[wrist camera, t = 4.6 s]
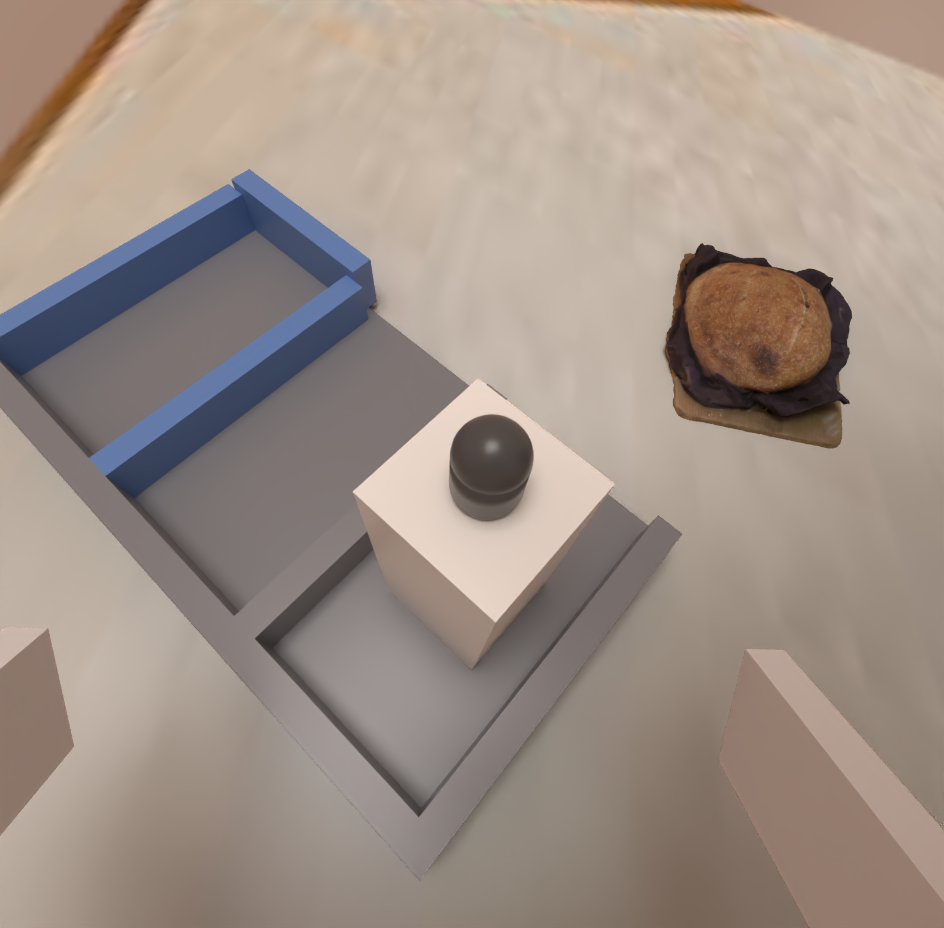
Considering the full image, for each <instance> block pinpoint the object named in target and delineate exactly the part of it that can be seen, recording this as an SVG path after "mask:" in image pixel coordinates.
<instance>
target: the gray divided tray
mask: <svg viewBox="0 0 944 928" xmlns="http://www.w3.org/2000/svg"><path fill="white" fill-rule="evenodd" d="M231 180H232V183H233V185H234V188H235V189H234V188H233V187H232V186H230V185H229V184H227V185H225V186H224V187H222V188H220V189H219V190H217V191H215V192H213V193H212V194H210V195H208V196H206V197H205V198H203V199H201V200H199V201H198V202H196V203H194V204H192V205H191V206H189V207H187V208H185V209H184V210H182V211H180V212H178V213H177V214H175V215H173V216H171V217H170V218H168V219H166V220H164V221H163V222H161V223H159V224H158V225H156V226H154V227H152V228H151V229H149V230H147V231H145V232H144V233H142V234H140V235H138V236H137V237H135V238H133V239H131V240H130V241H128V242H126V243H124V244H123V245H121V246H119V247H117V248H116V249H114V250H112V251H110V252H109V253H107V254H105V255H103V256H102V257H100V258H98V259H97V260H95V261H93V262H91V263H90V264H88V265H86V266H84V267H83V268H81V269H79V270H77V271H76V272H74V273H72V274H70V275H69V276H67V277H65V278H63V279H62V280H60V281H58V282H56V283H55V284H53V285H51V286H49V287H48V288H46V289H44V290H42V291H41V292H39V293H37V294H35V295H34V296H32V297H30V298H29V299H27V300H25V301H23V302H22V303H20V304H18V305H16V306H15V307H13V308H11V309H9V310H8V311H6V312H4V313H2V314H1V315H0V408H1V409H2V410H3V411H4V412H5V413H6V415H7V416H8V417H9V418H10V419H11V420H12V421H13V422H14V424H15V425H16V426H17V427H18V428H19V429H20V430H21V431H22V433H23V434H24V435H25V436H26V437H27V438H28V439H29V440H30V442H31V443H32V444H33V445H34V446H35V447H36V448H37V450H38V451H39V452H40V453H41V454H42V455H43V456H44V457H45V459H46V460H47V461H48V462H49V463H50V464H51V465H52V466H53V468H54V469H55V470H56V471H57V472H58V473H59V474H60V475H61V477H62V478H63V479H64V480H65V481H66V482H67V483H68V485H69V486H70V487H71V488H72V489H73V490H74V491H75V492H76V494H77V495H78V496H79V497H80V498H81V499H82V500H83V501H84V503H85V504H86V505H87V506H88V507H89V508H90V509H91V510H92V512H93V513H94V514H95V515H96V516H97V517H98V518H99V520H100V521H101V522H102V523H103V524H104V525H105V526H106V527H107V529H108V530H109V531H110V532H111V533H112V534H113V535H114V536H115V538H116V539H117V540H118V541H119V542H120V543H121V544H122V546H123V547H124V548H125V549H126V550H127V551H128V552H129V553H130V555H131V556H132V557H133V558H134V559H135V560H136V561H137V562H138V564H139V565H140V566H141V567H142V568H143V569H144V570H145V571H146V573H147V574H148V575H149V576H150V577H151V578H152V579H153V581H154V582H155V583H156V584H157V585H158V586H159V587H160V588H161V590H162V591H163V592H164V593H165V594H166V595H167V596H168V597H169V599H170V600H171V601H172V602H173V603H174V604H175V605H176V606H177V608H178V609H179V610H180V611H181V612H182V613H183V614H184V616H185V617H186V618H187V619H188V620H189V621H190V622H191V623H192V625H193V626H194V627H195V628H196V629H197V630H198V631H199V632H200V634H201V635H202V636H203V637H204V638H205V639H206V640H207V641H208V643H209V644H210V645H211V646H212V647H213V648H214V649H215V651H216V652H217V653H218V654H219V655H220V656H221V657H222V658H223V660H224V661H225V662H226V663H227V664H228V665H229V666H230V667H231V669H232V670H233V671H234V672H235V673H236V674H237V675H238V676H239V678H240V679H241V680H242V681H243V682H244V683H245V684H246V686H247V687H248V688H249V689H250V690H251V691H252V692H253V693H254V695H255V696H256V697H257V698H258V699H259V700H260V701H261V702H262V704H263V705H264V706H265V707H266V708H267V709H268V710H269V711H270V713H271V714H272V715H273V716H274V717H275V718H276V719H277V721H278V722H279V723H280V724H281V725H282V726H283V727H284V728H285V730H286V731H287V732H288V733H289V734H290V735H291V736H292V737H293V739H294V740H295V741H296V742H297V743H298V744H299V745H300V746H301V748H302V749H303V750H304V751H305V752H306V753H307V754H308V756H309V757H310V758H311V759H312V760H313V761H314V762H315V763H316V765H317V766H318V767H319V768H320V769H321V770H322V771H323V772H324V774H325V775H326V776H327V777H328V778H329V779H330V780H331V781H332V783H333V784H334V785H335V786H336V787H337V788H338V789H339V791H340V792H341V793H342V794H343V795H344V796H345V797H346V798H347V800H348V801H349V802H350V803H351V804H352V805H353V806H354V807H355V809H356V810H357V811H358V812H359V813H360V814H361V815H362V816H363V818H364V819H365V820H366V821H367V822H368V823H369V824H370V826H371V827H372V828H373V829H374V830H375V831H376V832H377V833H378V835H379V836H380V837H381V838H382V839H383V840H384V841H385V842H386V844H387V845H388V846H389V847H390V848H391V849H392V850H393V851H394V853H395V854H396V855H397V856H398V857H399V858H400V859H401V861H402V862H403V863H404V864H405V865H406V866H407V867H408V868H409V870H410V871H411V872H412V873H413V874H414V875H415V876H416V877H417V879H418V880H419V881H420V880H421V878H422V877H423V876H424V874H425V873H426V872H427V870H428V869H429V868H430V866H431V865H432V864H433V862H434V861H435V860H436V858H437V857H438V856H439V854H440V853H441V852H442V851H443V849H444V848H445V847H446V845H447V844H448V843H449V841H450V840H451V839H452V837H453V836H454V835H455V833H456V832H457V831H458V829H459V828H460V827H461V825H462V824H463V823H464V821H465V820H466V819H467V818H468V816H469V815H470V814H471V812H472V811H473V810H474V808H475V807H476V806H477V804H478V803H479V802H480V800H481V799H482V798H483V796H484V795H485V794H486V792H487V791H488V790H489V789H490V787H491V786H492V785H493V783H494V782H495V781H496V779H497V778H498V777H499V775H500V774H501V773H502V771H503V770H504V769H505V767H506V766H507V765H508V763H509V762H510V761H511V759H512V758H513V757H514V756H515V754H516V753H517V752H518V750H519V749H520V748H521V746H522V745H523V744H524V742H525V741H526V740H527V738H528V737H529V736H530V734H531V733H532V732H533V730H534V729H535V728H536V726H537V725H538V724H539V723H540V721H541V720H542V719H543V717H544V716H545V715H546V713H547V712H548V711H549V709H550V708H551V707H552V705H553V704H554V703H555V701H556V700H557V699H558V697H559V696H560V695H561V694H562V692H563V691H564V690H565V688H566V687H567V686H568V684H569V683H570V682H571V680H572V679H573V678H574V676H575V675H576V674H577V672H578V671H579V670H580V668H581V667H582V666H583V664H584V663H585V662H586V661H587V659H588V658H589V657H590V655H591V654H592V653H593V651H594V650H595V649H596V647H597V646H598V645H599V643H600V642H601V641H602V639H603V638H604V637H605V635H606V634H607V633H608V631H609V630H610V629H611V628H612V626H613V625H614V624H615V622H616V621H617V620H618V618H619V617H620V616H621V614H622V613H623V612H624V610H625V609H626V608H627V606H628V605H629V604H630V602H631V601H632V600H633V599H634V597H635V596H636V595H637V593H638V592H639V591H640V589H641V588H642V587H643V585H644V584H645V583H646V581H647V580H648V579H649V577H650V576H651V575H652V573H653V572H654V571H655V569H656V568H657V567H658V566H659V564H660V563H661V562H662V560H663V559H664V558H665V556H666V555H667V554H668V552H669V551H670V550H671V548H672V547H673V546H674V544H675V543H676V542H677V540H678V539H679V538H680V536H681V535H682V533H680V532H679V531H678V530H677V529H675V528H674V527H673V526H671V525H670V524H669V523H668V522H666V521H665V520H664V519H662V518H661V517H660V516H657V517H656V518H655V519H654V520H653V521H652V522H651V523H650V524H649V525H647V524H645V523H644V522H643V521H641V520H640V519H639V518H638V517H636V516H635V515H634V514H633V513H631V512H630V511H629V510H627V509H626V508H625V507H624V506H622V505H621V504H620V503H618V502H617V501H616V500H615V499H613V498H612V497H611V496H609V495H608V494H607V496H606V497H605V499H604V500H603V502H602V503H601V505H600V506H599V507H598V509H597V510H596V512H595V513H594V515H593V516H592V517H591V519H590V520H589V522H588V523H587V525H586V526H585V527H584V529H583V530H582V532H581V533H580V535H579V536H578V537H577V539H576V540H575V542H574V543H573V545H572V546H571V547H570V549H569V550H568V552H567V553H566V555H565V556H564V557H563V559H562V560H561V562H560V563H559V565H558V566H557V567H556V569H555V570H554V572H553V573H552V575H551V576H550V577H549V579H548V580H547V582H546V583H545V585H544V586H543V587H542V588H541V589H540V590H539V592H538V593H537V594H536V595H535V596H534V598H533V599H532V600H531V601H530V602H529V603H528V605H527V606H526V607H525V608H524V609H523V611H522V612H521V613H520V614H519V615H518V616H517V618H516V619H515V620H514V621H513V622H512V624H511V625H510V626H509V627H508V628H507V629H506V631H505V632H504V633H503V634H502V635H501V637H500V638H499V639H498V640H497V641H496V642H495V644H494V645H493V646H492V647H491V648H490V650H489V651H488V652H487V653H486V654H485V655H484V657H483V658H482V659H481V660H480V661H479V663H478V664H477V665H476V666H475V667H474V668H473V670H471V669H470V668H469V667H468V666H467V665H466V664H465V663H464V662H463V661H462V660H461V659H459V658H458V657H457V656H456V655H455V654H454V653H453V652H452V651H451V650H450V649H449V648H448V647H447V646H446V645H445V644H444V643H443V642H442V641H441V640H440V639H439V638H438V637H437V636H435V635H434V634H433V633H432V632H431V631H430V630H429V629H428V628H427V627H426V626H425V625H424V624H423V623H422V622H421V621H420V620H419V619H418V618H417V617H416V616H415V615H414V614H413V613H412V612H410V611H409V610H408V609H407V608H406V607H405V606H404V605H403V604H402V603H401V602H400V601H399V600H398V599H397V598H396V597H395V596H394V595H393V594H392V593H391V592H390V591H389V590H388V587H387V585H386V582H385V579H384V576H383V574H382V571H381V568H380V565H379V563H378V560H377V557H376V555H375V552H374V549H373V546H372V544H371V541H370V538H369V535H368V533H367V530H366V527H365V524H364V522H363V519H362V516H361V513H360V511H359V508H358V505H357V503H356V500H355V497H354V494H353V491H354V490H355V489H356V488H357V487H358V486H360V485H361V484H362V483H363V482H364V481H365V480H366V479H367V478H368V477H369V476H371V475H372V474H373V473H374V472H375V471H376V470H377V469H378V468H379V467H381V466H382V465H383V464H384V463H385V462H386V461H387V460H388V459H389V458H390V457H392V456H393V455H394V454H395V453H396V452H397V451H398V450H399V449H400V448H402V447H403V446H404V445H405V444H406V443H407V442H408V441H409V440H410V439H412V438H413V437H414V436H415V435H416V434H417V433H418V432H419V431H420V430H421V429H423V428H424V427H425V426H426V425H427V424H428V423H429V422H430V421H431V420H433V419H434V418H435V417H436V416H437V415H438V414H439V413H440V412H441V411H442V410H444V409H445V408H446V407H447V406H448V405H449V404H450V403H451V402H452V401H454V400H455V399H456V398H457V397H458V396H459V395H460V394H461V393H462V392H464V391H465V390H466V389H467V388H468V387H469V385H467V384H466V383H465V382H464V381H462V380H461V379H460V378H458V377H457V376H456V375H455V374H453V373H452V372H451V371H449V370H448V369H447V368H446V367H444V366H443V365H442V364H440V363H439V362H438V361H437V360H435V359H434V358H433V357H431V356H430V355H429V354H428V353H426V352H425V351H424V350H423V349H421V348H420V347H419V346H417V345H416V344H415V343H414V342H412V341H411V340H410V339H408V338H407V337H406V336H405V335H403V334H402V333H401V332H399V331H398V330H397V329H396V328H394V327H393V326H392V325H391V324H389V323H388V322H387V321H385V320H384V319H383V318H382V317H380V316H379V315H378V314H376V313H375V312H374V311H373V310H371V309H370V308H369V307H370V306H371V305H372V304H374V303H375V302H376V294H375V288H374V281H373V274H372V268H371V261H370V259H369V258H367V257H366V256H365V255H363V254H362V253H361V252H359V251H358V250H357V249H355V248H354V247H353V246H351V245H350V244H349V243H347V242H346V241H345V240H343V239H342V238H341V237H339V236H338V235H337V234H335V233H334V232H333V231H331V230H330V229H328V228H327V227H326V226H324V225H323V224H322V223H320V222H319V221H318V220H316V219H315V218H314V217H312V216H311V215H310V214H308V213H307V212H306V211H304V210H303V209H302V208H300V207H299V206H298V205H296V204H295V203H294V202H292V201H291V200H290V199H288V198H287V197H286V196H284V195H283V194H282V193H280V192H279V191H278V190H276V189H275V188H274V187H272V186H271V185H270V184H268V183H267V182H266V181H264V180H263V179H262V178H260V177H259V176H258V175H256V174H255V173H254V172H252V171H251V170H250V169H249V170H247V171H245V172H243V173H242V174H240V175H238V176H236V177H235V178H233V179H231ZM486 385H487V386H489V387H490V388H491V389H493V390H494V391H495V392H496V393H498V394H499V395H500V396H502V397H503V398H504V399H506V400H507V398H505V397H504V396H503V395H501V394H500V393H499V392H498V391H496V390H495V389H494V388H492V387H491V386H490V385H488V384H486Z"/></svg>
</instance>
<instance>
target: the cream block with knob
mask: <svg viewBox="0 0 944 928" xmlns="http://www.w3.org/2000/svg"><path fill="white" fill-rule="evenodd" d="M613 486H614V483H613V482H612V481H610V480H609V479H608V478H607V477H605V476H604V475H603V474H601V473H600V472H599V471H598V470H596V469H595V468H594V467H592V466H591V465H590V464H588V463H587V462H586V461H585V460H583V459H582V458H581V457H579V456H578V455H577V454H575V453H574V452H573V451H572V450H570V449H569V448H568V447H566V446H565V445H564V444H563V443H561V442H560V441H559V440H557V439H556V438H555V437H553V436H552V435H551V434H550V433H548V432H547V431H546V430H544V429H543V428H542V427H541V426H539V425H538V424H537V423H535V422H534V421H533V420H531V419H530V418H529V417H528V416H526V415H525V414H524V413H522V412H521V411H520V410H518V409H517V408H516V407H515V406H513V405H512V404H511V403H509V402H508V401H507V400H506V399H504V398H503V397H502V396H500V395H499V394H498V393H496V392H495V391H494V390H493V389H491V388H490V387H489V386H487V385H486V384H485V383H483V382H482V381H481V380H480V379H477V380H476V381H475V382H473V383H472V384H471V385H470V386H469V387H468V388H467V389H466V390H465V391H464V392H462V393H461V394H460V395H459V396H458V397H457V398H456V399H455V400H454V401H452V402H451V403H450V404H449V405H448V406H447V407H446V408H445V409H444V410H442V411H441V412H440V413H439V414H438V415H437V416H436V417H435V418H434V419H433V420H431V421H430V422H429V423H428V424H427V425H426V426H425V427H424V428H423V429H421V430H420V431H419V432H418V433H417V434H416V435H415V436H414V437H413V438H412V439H410V440H409V441H408V442H407V443H406V444H405V445H404V446H403V447H402V448H400V449H399V450H398V451H397V452H396V453H395V454H394V455H393V456H392V457H390V458H389V459H388V460H387V461H386V462H385V463H384V464H383V465H382V466H381V467H379V468H378V469H377V470H376V471H375V472H374V473H373V474H372V475H371V476H369V477H368V478H367V479H366V480H365V481H364V482H363V483H362V484H361V485H360V486H358V487H357V488H356V489H355V490H354V491H353V494H354V497H355V500H356V503H357V505H358V508H359V511H360V513H361V516H362V519H363V522H364V524H365V527H366V530H367V533H368V535H369V538H370V541H371V544H372V546H373V549H374V552H375V555H376V557H377V560H378V563H379V565H380V568H381V571H382V574H383V576H384V579H385V582H386V585H387V587H388V590H389V591H390V592H391V593H392V594H393V595H394V596H395V597H396V598H397V599H398V600H399V601H400V602H401V603H402V604H403V605H404V606H405V607H406V608H407V609H408V610H409V611H410V612H412V613H413V614H414V615H415V616H416V617H417V618H418V619H419V620H420V621H421V622H422V623H423V624H424V625H425V626H426V627H427V628H428V629H429V630H430V631H431V632H432V633H433V634H434V635H435V636H437V637H438V638H439V639H440V640H441V641H442V642H443V643H444V644H445V645H446V646H447V647H448V648H449V649H450V650H451V651H452V652H453V653H454V654H455V655H456V656H457V657H458V658H459V659H461V660H462V661H463V662H464V663H465V664H466V665H467V666H468V667H469V668H470V669H471V670H473V668H474V667H475V666H476V665H477V664H478V663H479V661H480V660H481V659H482V658H483V657H484V655H485V654H486V653H487V652H488V651H489V650H490V648H491V647H492V646H493V645H494V644H495V642H496V641H497V640H498V639H499V638H500V637H501V635H502V634H503V633H504V632H505V631H506V629H507V628H508V627H509V626H510V625H511V624H512V622H513V621H514V620H515V619H516V618H517V616H518V615H519V614H520V613H521V612H522V611H523V609H524V608H525V607H526V606H527V605H528V603H529V602H530V601H531V600H532V599H533V598H534V596H535V595H536V594H537V593H538V592H539V590H540V589H541V588H542V587H543V586H544V585H545V583H546V582H547V580H548V579H549V577H550V576H551V575H552V573H553V572H554V570H555V569H556V567H557V566H558V565H559V563H560V562H561V560H562V559H563V557H564V556H565V555H566V553H567V552H568V550H569V549H570V547H571V546H572V545H573V543H574V542H575V540H576V539H577V537H578V536H579V535H580V533H581V532H582V530H583V529H584V527H585V526H586V525H587V523H588V522H589V520H590V519H591V517H592V516H593V515H594V513H595V512H596V510H597V509H598V507H599V506H600V505H601V503H602V502H603V500H604V499H605V497H606V496H607V494H608V493H609V492H610V490H611V489H612V487H613Z"/></svg>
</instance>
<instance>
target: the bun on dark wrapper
mask: <svg viewBox="0 0 944 928" xmlns="http://www.w3.org/2000/svg"><path fill="white" fill-rule="evenodd" d="M677 279H678V280H677V284H676V290H675V295H674V297H673V307H674V310H673V316H672V318H673V320H672V327H671V328H670V329H669V331H668V332H667V344H666V355H667V358H668V360H669V362H670V368H671V374H672V378H673V383H674V399H673V406H674V408H675V411H676V412H677V414H678V416H680V417H682V418H685V419H687V420H692V421H699V422H705V423H710V424H715V425H719V426H724V427H728V428H734V429H738V430H743V431H746V432H752V433H757V434H763V435H767V436H770V437H777V438H782V439H786V440H791V441H796V442H801V443H805V444H811V445H817V446H821V447H826V448H835V447H837V446H838V445H839V444H840V442H841V439H842V419H841V417H842V415H841V406H840V401H841V402H842V404H849V403H850V402H849V400H847V399H846V397H845V396H843V395H842V394H841V393H839V391H840V384H839V371H840V370H841V368H843V367H844V366H845V365H846V363H847V359H848V357H849V354H850V351H849V348H848V347H847V339H848V334H849V325H850V321H851V319H852V313H851V309H850V307H849V305H848V303H847V302H846V301H845V299H844V297H843V296H842V295H841V293H840V292H839V291H838V290H837V289H836V288H835V287H833V286H832V285H831V282H832V281H833V278H831V277H828V276H827V275H825V274H824V273H822V272H820V271H818V270H815V269H806V270H802V271H799V272H793V271H790V270H784V269H781V268H775V267H772V266H771V265H770V264H769V263H768V262H767V260H766V259H765V258H739V257H736V256H734V255H731V254H728V253H724V252H720V251H717V250H715V248H714V247H713V246H711V245H703V243H702V244H700V246H699V247H698V248H697V250H696V253H695V254H691V253H689V254H685V255H684V259H683V260H682V262H681V264H680V270H679V273H678V278H677Z"/></svg>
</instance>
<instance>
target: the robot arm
mask: <svg viewBox="0 0 944 928" xmlns="http://www.w3.org/2000/svg"><path fill="white" fill-rule="evenodd" d="M73 747H74V744H73V739H72V735H71V730H70V725H69V721H68V716H67V712H66V707H65V703H64V698H63V694H62V689H61V684H60V680H59V675H58V671H57V666H56V662H55V657H54V653H53V648H52V644H51V639H50V634H49V630H48V628H20V627H5V628H3V629H2V630H1V631H0V835H1V834H2V833H3V832H4V831H5V829H6V828H7V827H8V826H9V825H10V823H11V822H12V821H13V820H14V818H15V817H16V816H17V815H18V814H19V812H20V811H21V810H22V809H23V808H24V806H25V805H26V804H27V803H28V802H29V800H30V799H31V798H32V797H33V795H34V794H35V793H36V792H37V791H38V789H39V788H40V787H41V786H42V785H43V783H44V782H45V781H46V780H47V779H48V777H49V776H50V775H51V774H52V772H53V771H54V770H55V769H56V768H57V766H58V765H59V764H60V763H61V762H62V760H63V759H64V758H65V757H66V756H67V754H68V753H69V752H70V751H71V749H72V748H73ZM718 761H719V762H720V764H721V766H722V768H723V770H724V772H725V773H726V775H727V777H728V779H729V781H730V783H731V784H732V786H733V788H734V790H735V792H736V794H737V795H738V797H739V799H740V801H741V803H742V805H743V807H744V808H745V810H746V812H747V814H748V816H749V818H750V819H751V821H752V823H753V825H754V827H755V829H756V830H757V832H758V834H759V836H760V838H761V840H762V841H763V843H764V845H765V847H766V849H767V851H768V852H769V854H770V856H771V858H772V860H773V862H774V863H775V865H776V867H777V869H778V871H779V873H780V875H781V876H782V878H783V880H784V882H785V884H786V886H787V887H788V889H789V891H790V893H791V895H792V897H793V898H794V900H795V902H796V904H797V906H798V908H799V909H800V911H801V913H802V915H803V917H804V919H805V920H806V922H807V924H808V926H809V928H944V830H943V829H942V828H941V827H940V825H939V824H938V823H937V822H936V821H935V820H934V819H933V818H932V816H931V815H930V814H929V813H928V812H927V811H926V810H925V808H924V807H923V806H922V805H921V804H920V803H919V802H918V801H917V799H916V798H915V797H914V796H913V795H912V794H911V793H910V792H909V790H908V789H907V788H906V787H905V786H904V785H903V784H902V783H901V781H900V780H899V779H898V778H897V777H896V776H895V775H894V773H893V772H892V771H891V770H890V769H889V768H888V767H887V766H886V764H885V763H884V762H883V761H882V760H881V759H880V758H879V757H878V755H877V754H876V753H875V752H874V751H873V750H872V749H871V748H870V746H869V745H868V744H867V743H866V742H865V741H864V740H863V738H862V737H861V736H860V735H859V734H858V733H857V732H856V731H855V729H854V728H853V727H852V726H851V725H850V724H849V723H848V722H847V720H846V719H845V718H844V717H843V716H842V715H841V714H840V712H839V711H838V710H837V709H836V708H835V707H834V706H833V705H832V703H831V702H830V701H829V700H828V699H827V698H826V697H825V696H824V694H823V693H822V692H821V691H820V690H819V689H818V688H817V687H816V685H815V684H814V683H813V682H812V681H811V680H810V679H809V677H808V676H807V675H806V674H805V673H804V672H803V671H802V670H801V668H800V667H799V666H798V665H797V664H796V663H795V662H794V661H793V659H792V658H791V657H790V656H789V655H788V654H787V653H786V652H785V650H771V649H745V653H744V657H743V661H742V665H741V669H740V673H739V677H738V681H737V685H736V689H735V693H734V697H733V701H732V706H731V710H730V714H729V718H728V722H727V726H726V730H725V734H724V738H723V742H722V746H721V750H720V754H719V758H718Z"/></svg>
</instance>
